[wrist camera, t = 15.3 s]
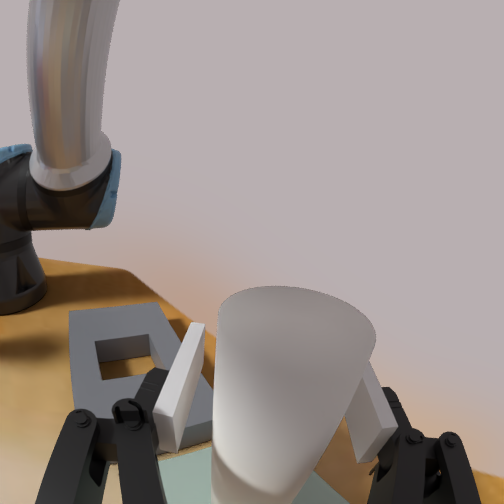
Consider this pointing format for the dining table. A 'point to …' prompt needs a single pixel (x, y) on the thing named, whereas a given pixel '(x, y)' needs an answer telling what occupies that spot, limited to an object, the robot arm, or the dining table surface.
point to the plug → (281, 388)
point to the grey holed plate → (124, 347)
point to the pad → (199, 482)
